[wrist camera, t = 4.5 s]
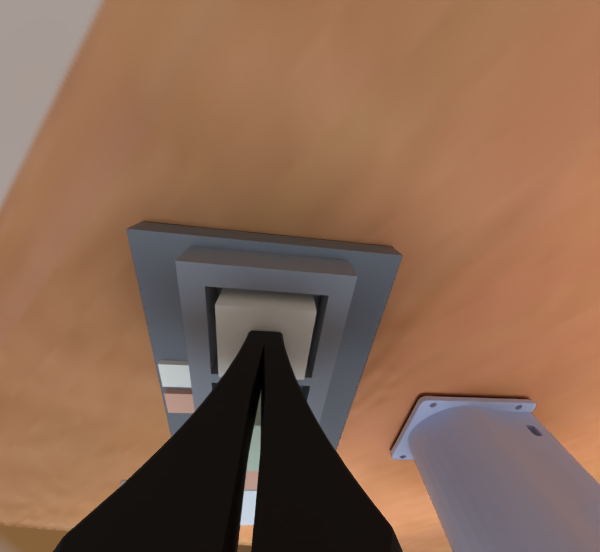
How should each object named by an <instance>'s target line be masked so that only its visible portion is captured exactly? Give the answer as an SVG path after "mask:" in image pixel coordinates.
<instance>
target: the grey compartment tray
mask: <svg viewBox="0 0 600 552" xmlns="http://www.w3.org/2000/svg"><path fill="white" fill-rule="evenodd" d="M127 234H128V239H129V243H130V248H131V252H132V257H133V262H134V266H135V271H136V276H137V280H138V285H139V289H140V294H141V299H142V303H143V308H144V313H145V317H146V322H147V326H148V331H149V336H150V340H151V345H152V350H153V354H154V359H155V363H156V368H157V373H158V377H159V382H160V387H161V391H162V396H163V400H164V405H165V410H166V414H167V419H168V423H169V428H170V433H171V437H172V436H173V435H174V434H175V433H176V432H177V431H178V429H179V428H180V427H181V426H182V425H183V424H184V423H185V422H186V421H187V420H188V419H189V417H190V416H191V415H192V414H193V413H194V412H195V411H196V409H197V408H198V407H199V406H200V405H201V403H202V402H203V401H204V400H205V399H206V397H207V396H208V395H209V394H210V392H211V391H212V390H213V388H214V387H215V386H216V384H217V383H218V382H219V380H220V379H221V378H222V377H219V375H218V356H217V336H216V316H215V304H216V302H217V299H218V297H219V295H220V293H221V291H222V289H223V288H234V289H247V290H260V291H273V292H287V293H300V294H313V296H314V301H315V306H316V311H317V312H316V318H315V323H314V328H313V334H312V339H311V345H310V350H309V355H308V361H307V366H306V372H305V377H304V380H297V382H298V384H299V386H300V388H301V390H302V393H303V395H304V397H305V399H306V401H307V403H308V405H309V407H310V409H311V411H312V412H313V414H314V416H315V418H316V420H317V421H318V423H319V425H320V426H321V428H322V430H323V432H324V433H325V435H326V437H327V438H328V440H329V441H330V443H331V444H332V446H333V447H334V449H335V450H336V449H337V446H338V443H339V440H340V437H341V435H342V432H343V429H344V426H345V423H346V420H347V417H348V414H349V411H350V408H351V405H352V402H353V399H354V396H355V394H356V391H357V388H358V385H359V382H360V379H361V376H362V373H363V370H364V367H365V364H366V361H367V358H368V355H369V353H370V350H371V347H372V344H373V341H374V338H375V335H376V332H377V329H378V326H379V323H380V320H381V317H382V314H383V312H384V309H385V306H386V303H387V300H388V297H389V294H390V291H391V288H392V285H393V282H394V279H395V276H396V273H397V271H398V268H399V265H400V262H401V259H402V256H403V255H402V254H400V253H399V252H398V251H397V250H396V249H394V248H393V247H391V246H381V245H372V244H362V243H352V242H342V241H332V240H322V239H312V238H302V237H292V236H282V235H272V234H262V233H252V232H242V231H232V230H222V229H212V228H202V227H192V226H182V225H172V224H162V223H152V222H140V223H138V224H136V225H134V226H131V227H129V228H127ZM244 491H257V490H244Z"/></svg>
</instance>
